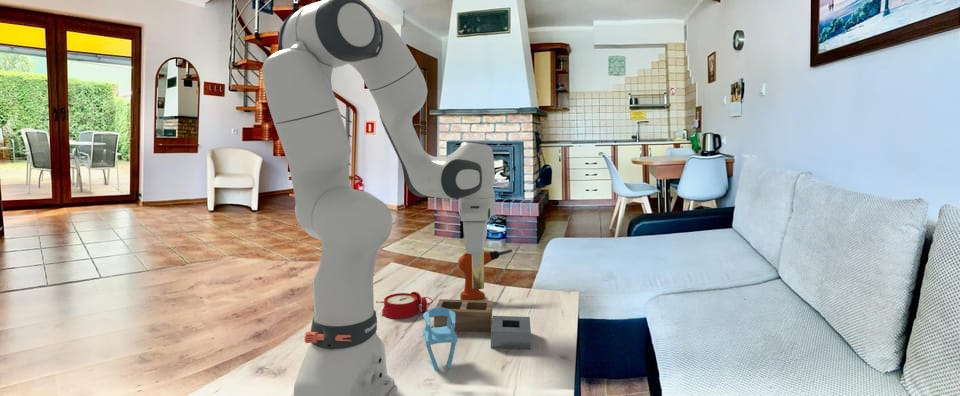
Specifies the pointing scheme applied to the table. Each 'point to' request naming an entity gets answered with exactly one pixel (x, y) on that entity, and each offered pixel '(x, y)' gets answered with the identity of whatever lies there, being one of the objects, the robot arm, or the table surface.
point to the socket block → (511, 332)
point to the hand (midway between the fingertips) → (477, 262)
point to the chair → (440, 333)
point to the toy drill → (466, 267)
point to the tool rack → (467, 315)
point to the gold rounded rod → (478, 274)
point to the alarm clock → (403, 305)
